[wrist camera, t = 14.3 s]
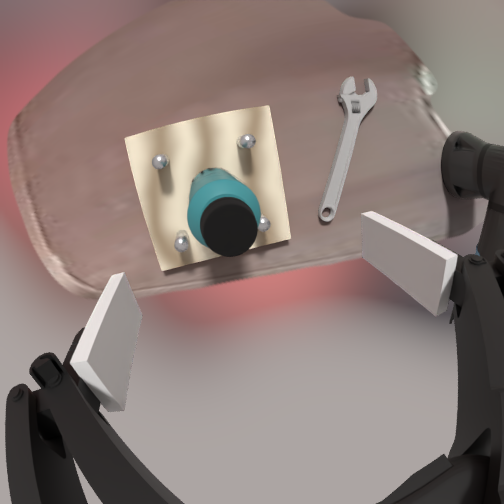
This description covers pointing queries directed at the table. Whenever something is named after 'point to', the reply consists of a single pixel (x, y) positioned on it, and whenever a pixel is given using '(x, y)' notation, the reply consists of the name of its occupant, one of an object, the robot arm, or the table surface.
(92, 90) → the table surface
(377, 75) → the table surface
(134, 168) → the birch board
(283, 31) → the table surface
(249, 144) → the steel pegs
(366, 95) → the adjustable wrench
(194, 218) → the beverage bottle
